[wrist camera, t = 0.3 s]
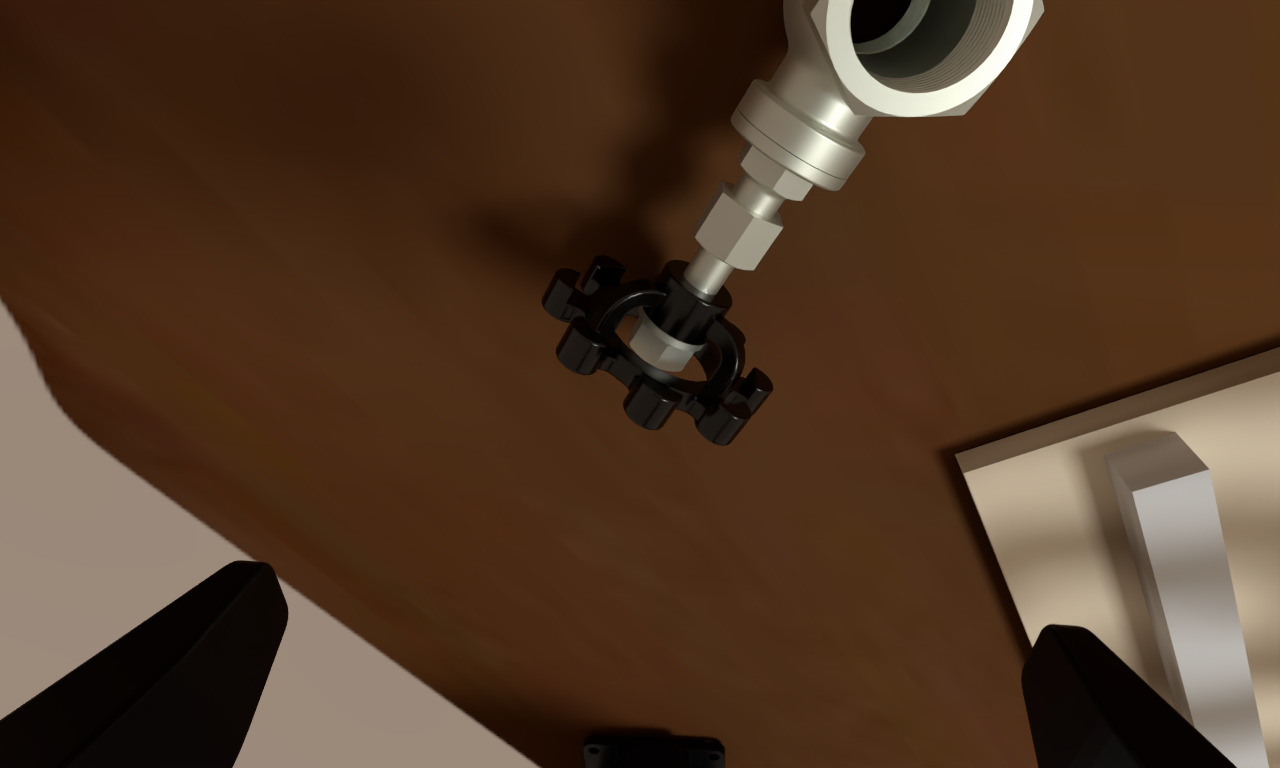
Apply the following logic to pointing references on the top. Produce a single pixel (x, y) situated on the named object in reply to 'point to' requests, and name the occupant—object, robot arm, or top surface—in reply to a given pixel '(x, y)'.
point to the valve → (776, 196)
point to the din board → (1085, 530)
